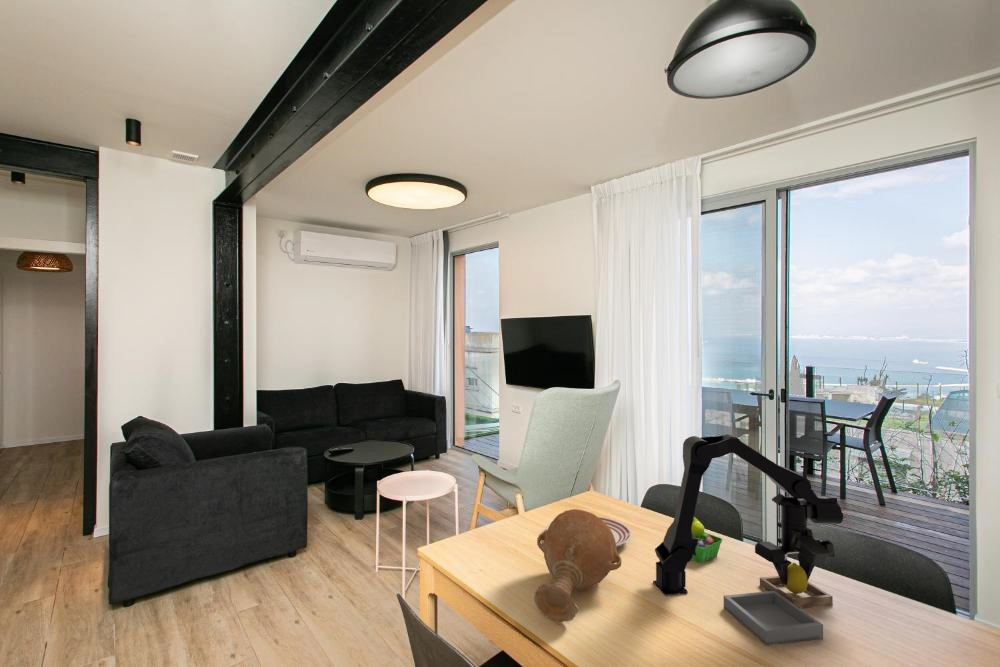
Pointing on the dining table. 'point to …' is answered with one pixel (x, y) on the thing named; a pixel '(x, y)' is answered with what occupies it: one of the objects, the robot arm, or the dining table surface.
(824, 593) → the lemon holder
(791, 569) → the lemon
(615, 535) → the dinner plate
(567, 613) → the jug
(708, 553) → the fruit basket
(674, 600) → the dining table surface
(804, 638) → the tray
